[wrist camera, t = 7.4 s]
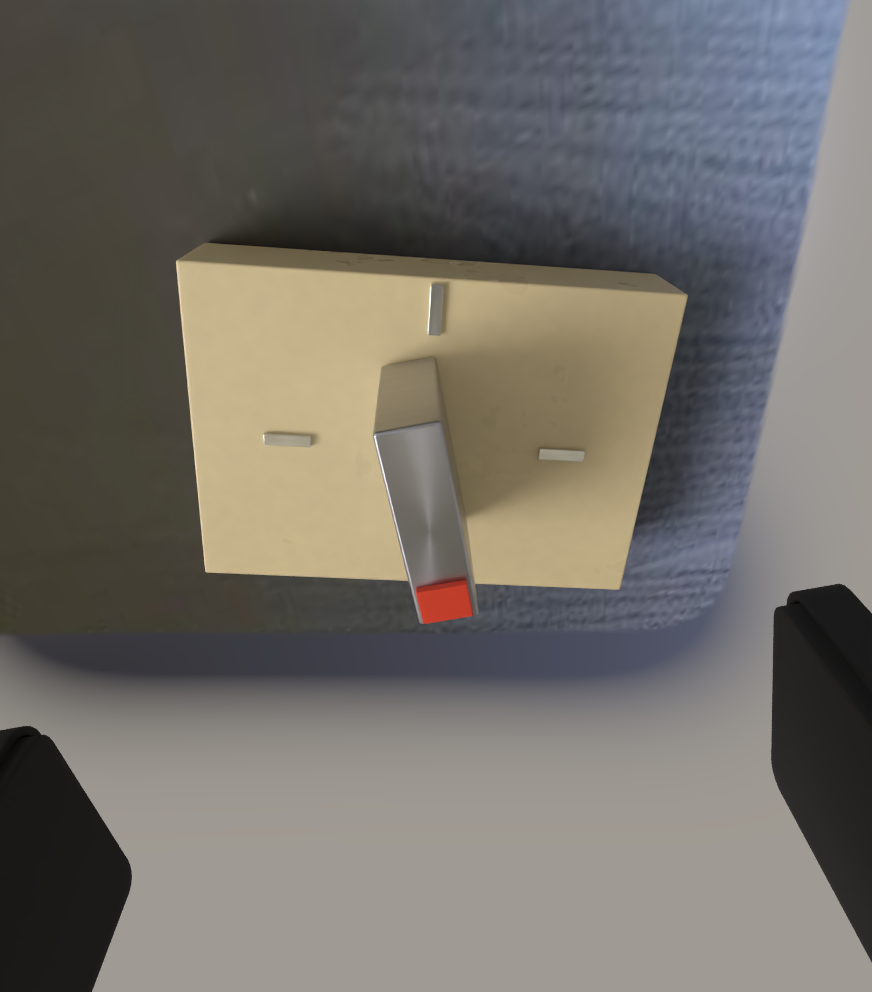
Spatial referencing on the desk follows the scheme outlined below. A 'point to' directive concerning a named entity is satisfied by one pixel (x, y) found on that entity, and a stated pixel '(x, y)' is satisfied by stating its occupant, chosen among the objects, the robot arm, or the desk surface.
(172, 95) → the desk surface
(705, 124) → the desk surface
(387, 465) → the metal bar
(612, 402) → the beige lever base
